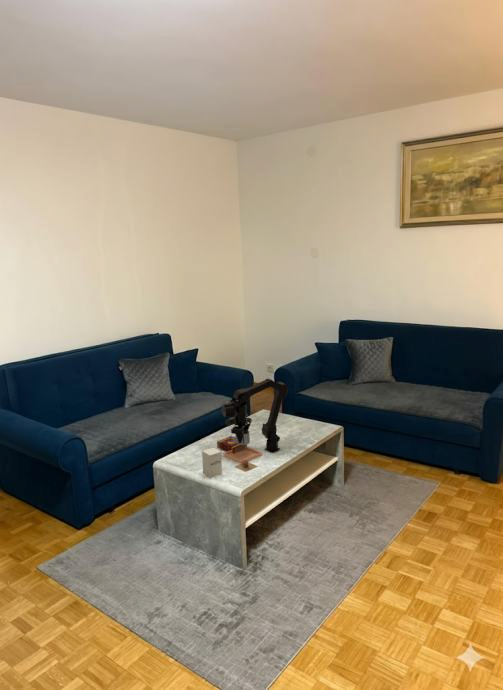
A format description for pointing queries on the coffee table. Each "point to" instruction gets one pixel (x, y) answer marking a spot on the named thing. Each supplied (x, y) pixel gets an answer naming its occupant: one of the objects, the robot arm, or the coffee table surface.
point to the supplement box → (212, 462)
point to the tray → (243, 455)
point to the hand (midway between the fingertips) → (242, 440)
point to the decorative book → (229, 445)
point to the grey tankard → (245, 439)
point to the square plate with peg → (246, 466)
